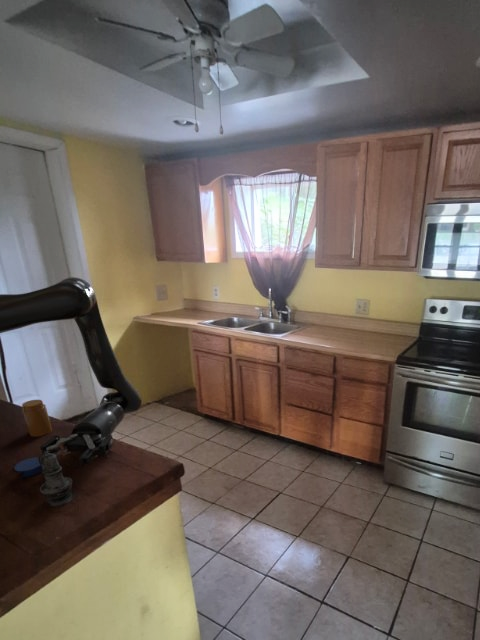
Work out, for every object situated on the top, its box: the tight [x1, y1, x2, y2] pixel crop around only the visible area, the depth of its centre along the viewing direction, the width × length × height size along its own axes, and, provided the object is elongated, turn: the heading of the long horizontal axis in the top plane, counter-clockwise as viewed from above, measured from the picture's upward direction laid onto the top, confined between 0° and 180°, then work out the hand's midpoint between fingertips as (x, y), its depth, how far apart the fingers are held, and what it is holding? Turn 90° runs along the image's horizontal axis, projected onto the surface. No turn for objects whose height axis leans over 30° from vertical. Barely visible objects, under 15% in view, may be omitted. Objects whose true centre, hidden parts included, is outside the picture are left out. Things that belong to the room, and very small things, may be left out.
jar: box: [21, 399, 53, 438], centre depth 103 cm, size 5×5×10 cm
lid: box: [13, 456, 43, 478], centre depth 89 cm, size 6×6×2 cm
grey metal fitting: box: [39, 451, 75, 508], centre depth 77 cm, size 6×6×12 cm
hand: (61, 462), depth 80 cm, fingers open, 8 cm apart
